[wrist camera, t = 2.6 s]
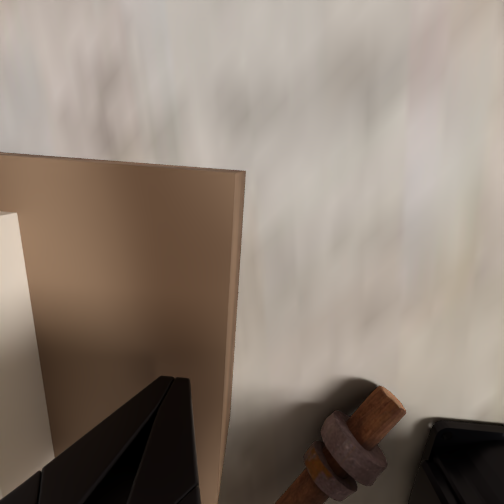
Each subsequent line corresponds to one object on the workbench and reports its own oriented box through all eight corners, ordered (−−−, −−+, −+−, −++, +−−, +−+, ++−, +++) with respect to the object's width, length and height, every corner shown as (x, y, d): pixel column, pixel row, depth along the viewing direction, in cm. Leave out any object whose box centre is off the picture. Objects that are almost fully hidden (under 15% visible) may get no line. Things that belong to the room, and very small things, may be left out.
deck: (245, 170, 11) (235, 173, 8) (229, 417, 15) (217, 505, 11) (-152, 140, 12) (-353, 128, 8) (-79, 388, 15) (-196, 463, 11)
